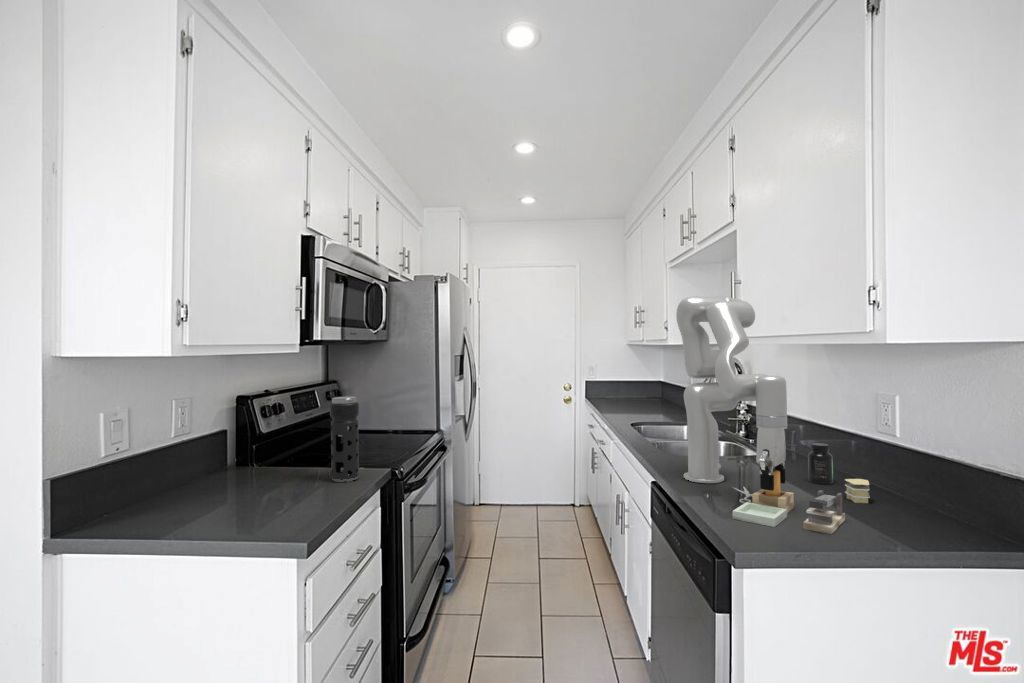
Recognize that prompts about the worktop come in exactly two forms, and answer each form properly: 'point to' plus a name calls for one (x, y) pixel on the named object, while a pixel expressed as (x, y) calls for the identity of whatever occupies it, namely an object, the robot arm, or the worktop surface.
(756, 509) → the tray
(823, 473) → the supplement bottle
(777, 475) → the plug
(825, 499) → the lever
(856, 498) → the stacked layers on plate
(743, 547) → the worktop surface
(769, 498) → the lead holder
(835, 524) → the base
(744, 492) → the scissors
